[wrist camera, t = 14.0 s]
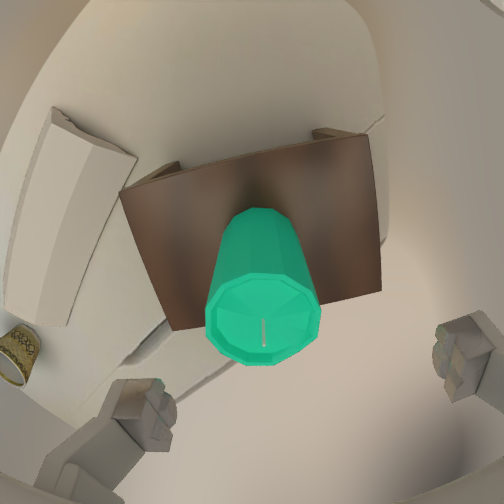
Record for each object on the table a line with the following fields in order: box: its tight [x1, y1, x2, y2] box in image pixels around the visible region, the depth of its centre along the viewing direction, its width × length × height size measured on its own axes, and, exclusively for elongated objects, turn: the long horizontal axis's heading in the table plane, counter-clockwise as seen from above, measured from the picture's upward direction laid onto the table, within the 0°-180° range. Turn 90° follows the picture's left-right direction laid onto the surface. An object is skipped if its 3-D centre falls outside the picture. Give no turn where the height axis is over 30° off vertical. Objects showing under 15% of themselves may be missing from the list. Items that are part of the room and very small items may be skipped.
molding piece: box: [3, 107, 137, 327], centre depth 39 cm, size 32×12×10 cm
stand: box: [118, 128, 382, 331], centre depth 31 cm, size 20×14×14 cm
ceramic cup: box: [0, 324, 41, 388], centre depth 44 cm, size 13×10×10 cm
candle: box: [205, 208, 321, 366], centre depth 20 cm, size 6×6×12 cm
